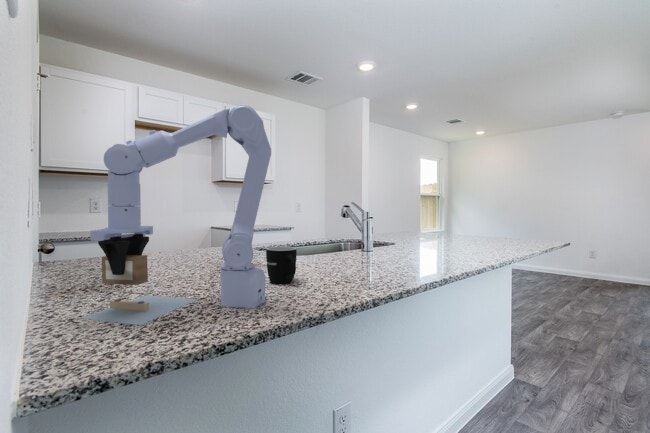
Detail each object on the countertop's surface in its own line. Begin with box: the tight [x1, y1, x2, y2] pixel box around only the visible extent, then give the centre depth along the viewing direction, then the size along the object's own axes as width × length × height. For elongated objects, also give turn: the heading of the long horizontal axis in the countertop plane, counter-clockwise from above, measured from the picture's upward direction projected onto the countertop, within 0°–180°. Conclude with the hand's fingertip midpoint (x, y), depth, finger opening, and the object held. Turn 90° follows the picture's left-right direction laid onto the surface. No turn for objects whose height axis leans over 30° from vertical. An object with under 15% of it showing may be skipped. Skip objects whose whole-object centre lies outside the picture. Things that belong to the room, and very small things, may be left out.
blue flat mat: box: [79, 294, 198, 326], centre depth 71 cm, size 14×17×3 cm
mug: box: [265, 246, 298, 285], centre depth 99 cm, size 12×9×10 cm
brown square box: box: [101, 254, 149, 286], centre depth 69 cm, size 8×3×6 cm, turn 80°
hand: (125, 272), depth 69 cm, fingers closed on brown square box, 3 cm apart
